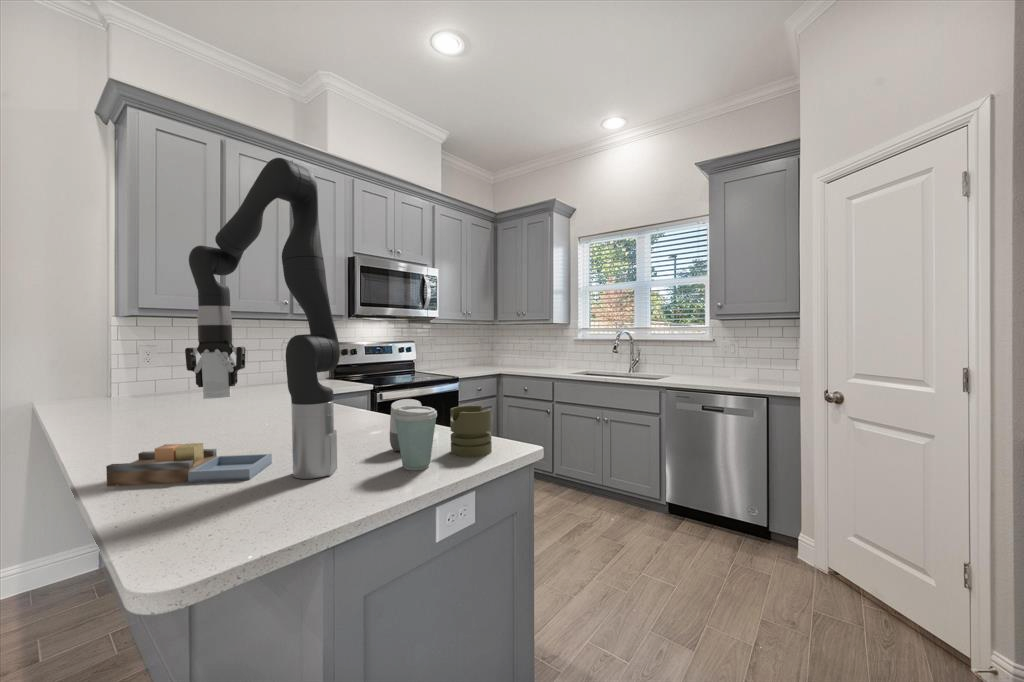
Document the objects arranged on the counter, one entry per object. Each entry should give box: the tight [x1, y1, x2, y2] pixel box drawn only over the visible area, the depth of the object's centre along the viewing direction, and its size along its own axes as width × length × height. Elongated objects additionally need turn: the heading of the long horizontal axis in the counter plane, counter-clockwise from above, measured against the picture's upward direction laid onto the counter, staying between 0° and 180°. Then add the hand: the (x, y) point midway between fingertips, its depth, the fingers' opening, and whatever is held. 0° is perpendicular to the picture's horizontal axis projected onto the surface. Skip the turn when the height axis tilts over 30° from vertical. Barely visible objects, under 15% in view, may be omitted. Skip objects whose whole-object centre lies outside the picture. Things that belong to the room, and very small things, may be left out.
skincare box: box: [200, 352, 232, 400], centre depth 120 cm, size 6×4×12 cm
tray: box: [187, 453, 273, 484], centre depth 110 cm, size 13×13×2 cm
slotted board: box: [105, 448, 218, 487], centre depth 108 cm, size 17×12×4 cm
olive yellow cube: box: [176, 442, 204, 464], centre depth 109 cm, size 4×4×4 cm
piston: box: [449, 405, 493, 459], centre depth 126 cm, size 11×12×11 cm
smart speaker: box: [389, 398, 423, 453], centre depth 129 cm, size 10×9×14 cm
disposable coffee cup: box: [394, 405, 438, 471], centre depth 113 cm, size 11×11×15 cm
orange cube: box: [154, 443, 184, 462], centre depth 108 cm, size 4×4×4 cm
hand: (216, 386), depth 120 cm, fingers closed on skincare box, 7 cm apart
